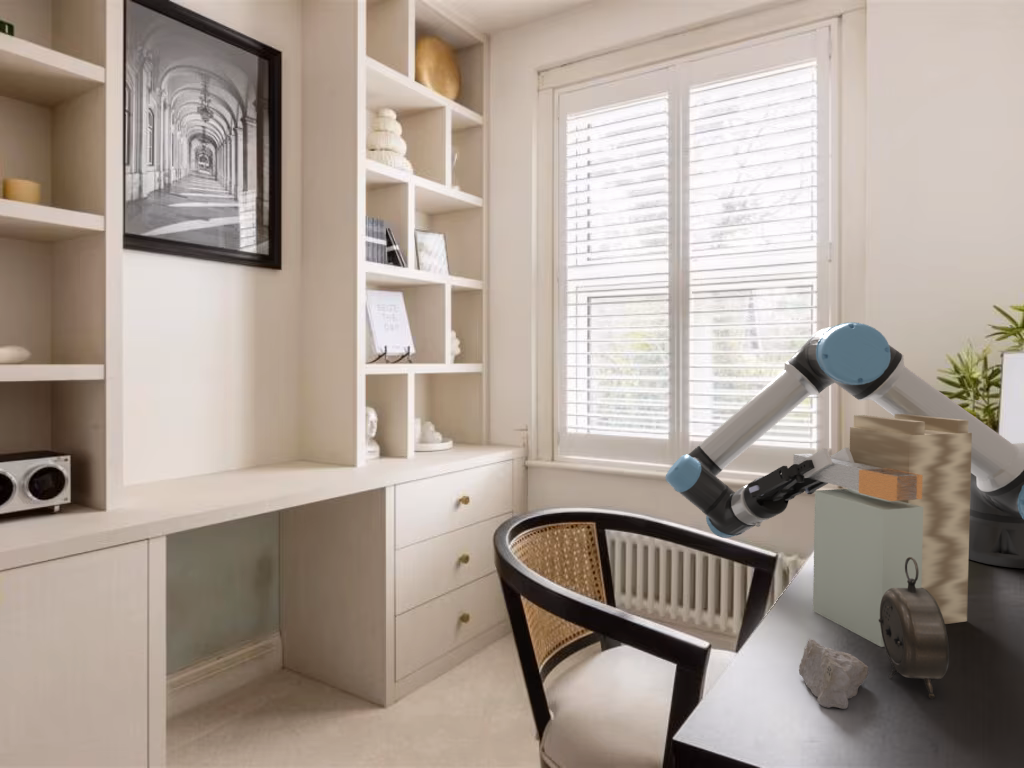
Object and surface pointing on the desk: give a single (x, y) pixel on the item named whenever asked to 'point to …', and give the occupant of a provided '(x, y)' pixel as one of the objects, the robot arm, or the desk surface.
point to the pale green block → (862, 556)
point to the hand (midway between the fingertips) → (838, 455)
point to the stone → (831, 674)
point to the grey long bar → (869, 479)
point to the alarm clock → (914, 632)
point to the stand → (929, 493)
